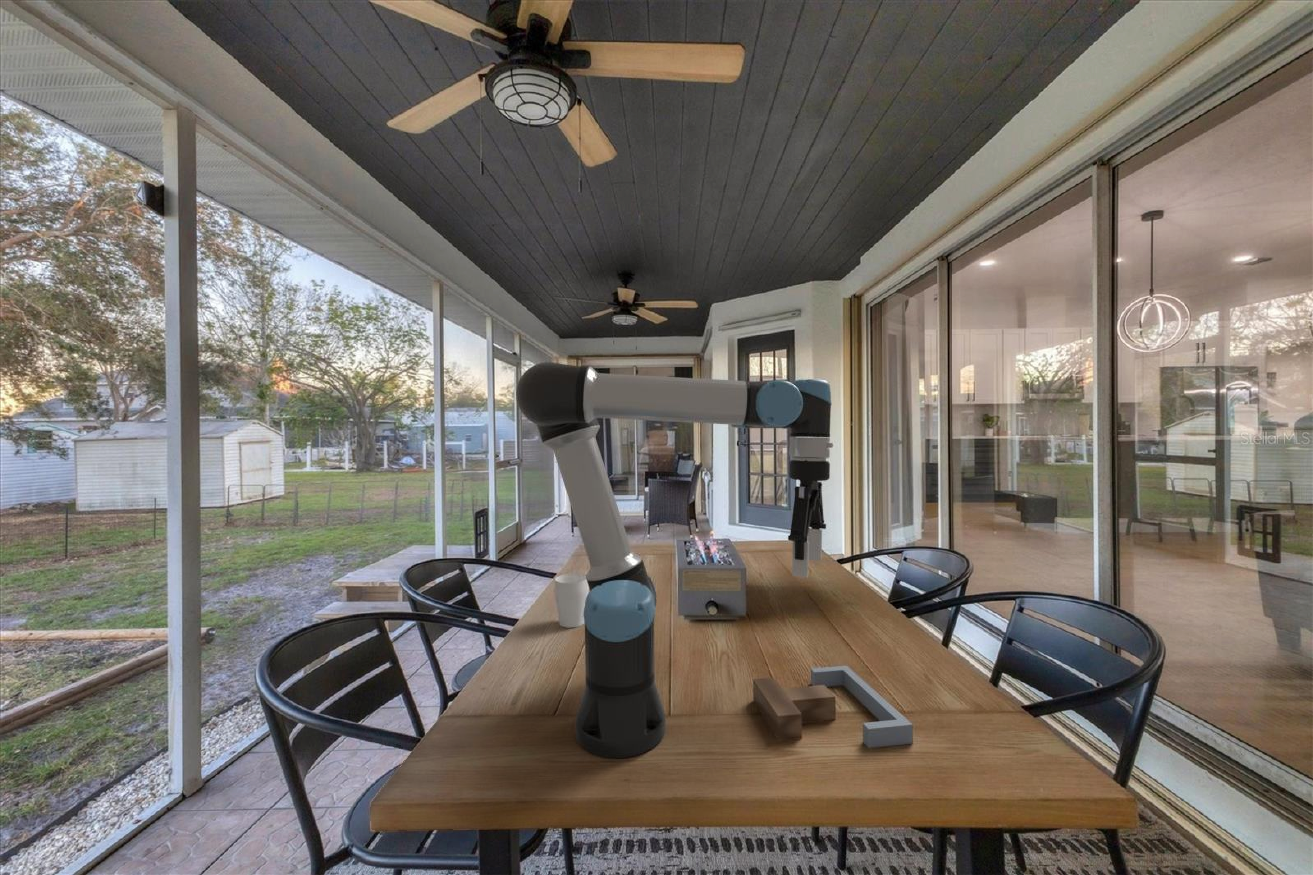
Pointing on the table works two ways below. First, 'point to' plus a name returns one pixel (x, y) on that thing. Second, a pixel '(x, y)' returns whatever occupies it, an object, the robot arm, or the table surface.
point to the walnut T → (792, 706)
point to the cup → (571, 599)
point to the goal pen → (868, 707)
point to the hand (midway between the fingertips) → (807, 568)
